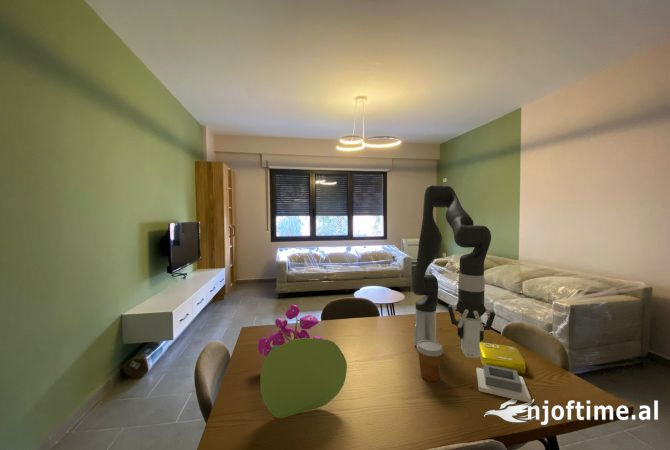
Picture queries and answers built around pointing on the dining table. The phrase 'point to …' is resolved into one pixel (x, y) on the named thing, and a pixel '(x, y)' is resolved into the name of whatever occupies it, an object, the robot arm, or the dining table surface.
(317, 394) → the potted pink orchid
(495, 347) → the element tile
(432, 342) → the disposable coffee cup
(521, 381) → the board
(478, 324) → the skincare box
